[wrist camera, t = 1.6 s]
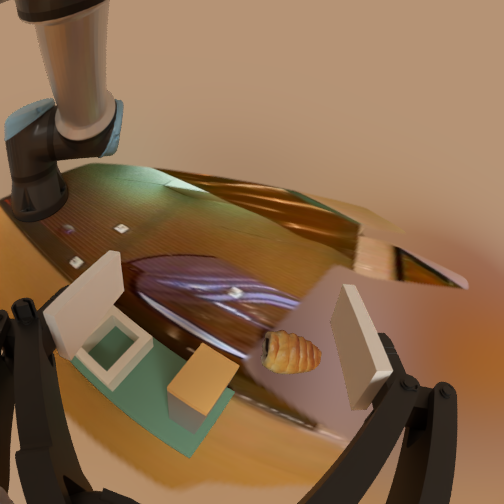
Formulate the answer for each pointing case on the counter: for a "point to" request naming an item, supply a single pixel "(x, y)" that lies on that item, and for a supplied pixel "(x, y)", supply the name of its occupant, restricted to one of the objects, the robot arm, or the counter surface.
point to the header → (128, 359)
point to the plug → (199, 387)
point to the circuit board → (149, 390)
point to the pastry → (289, 353)
